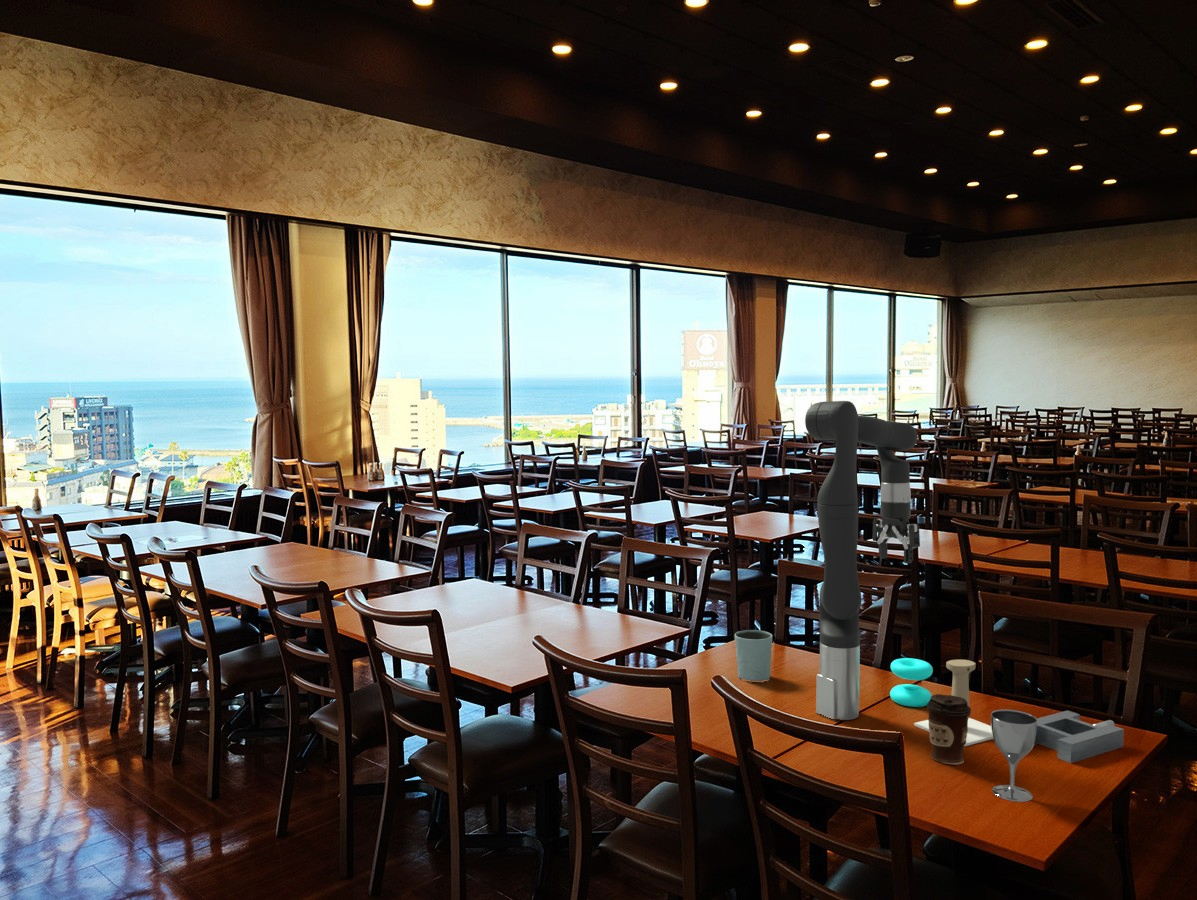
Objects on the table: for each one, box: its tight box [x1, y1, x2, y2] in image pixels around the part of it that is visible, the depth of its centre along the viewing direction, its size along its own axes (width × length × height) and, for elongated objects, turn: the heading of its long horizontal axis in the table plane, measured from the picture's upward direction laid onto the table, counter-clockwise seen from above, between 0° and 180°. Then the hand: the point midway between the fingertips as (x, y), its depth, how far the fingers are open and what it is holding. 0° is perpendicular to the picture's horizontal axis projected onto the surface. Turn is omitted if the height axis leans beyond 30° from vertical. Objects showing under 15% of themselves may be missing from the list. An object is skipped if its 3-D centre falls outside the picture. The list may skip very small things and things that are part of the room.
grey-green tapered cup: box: [734, 629, 773, 681], centre depth 238 cm, size 10×10×12 cm
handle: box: [945, 659, 977, 725], centre depth 200 cm, size 5×6×15 cm
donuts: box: [889, 657, 934, 708], centre depth 219 cm, size 10×10×10 cm
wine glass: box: [990, 708, 1037, 803], centre depth 167 cm, size 8×8×15 cm
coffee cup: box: [926, 693, 972, 766], centre depth 183 cm, size 9×8×13 cm
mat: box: [913, 717, 994, 747], centre depth 200 cm, size 14×14×1 cm
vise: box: [1034, 710, 1125, 764], centre depth 193 cm, size 24×13×4 cm, turn 118°
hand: (895, 560), depth 230 cm, fingers open, 8 cm apart
